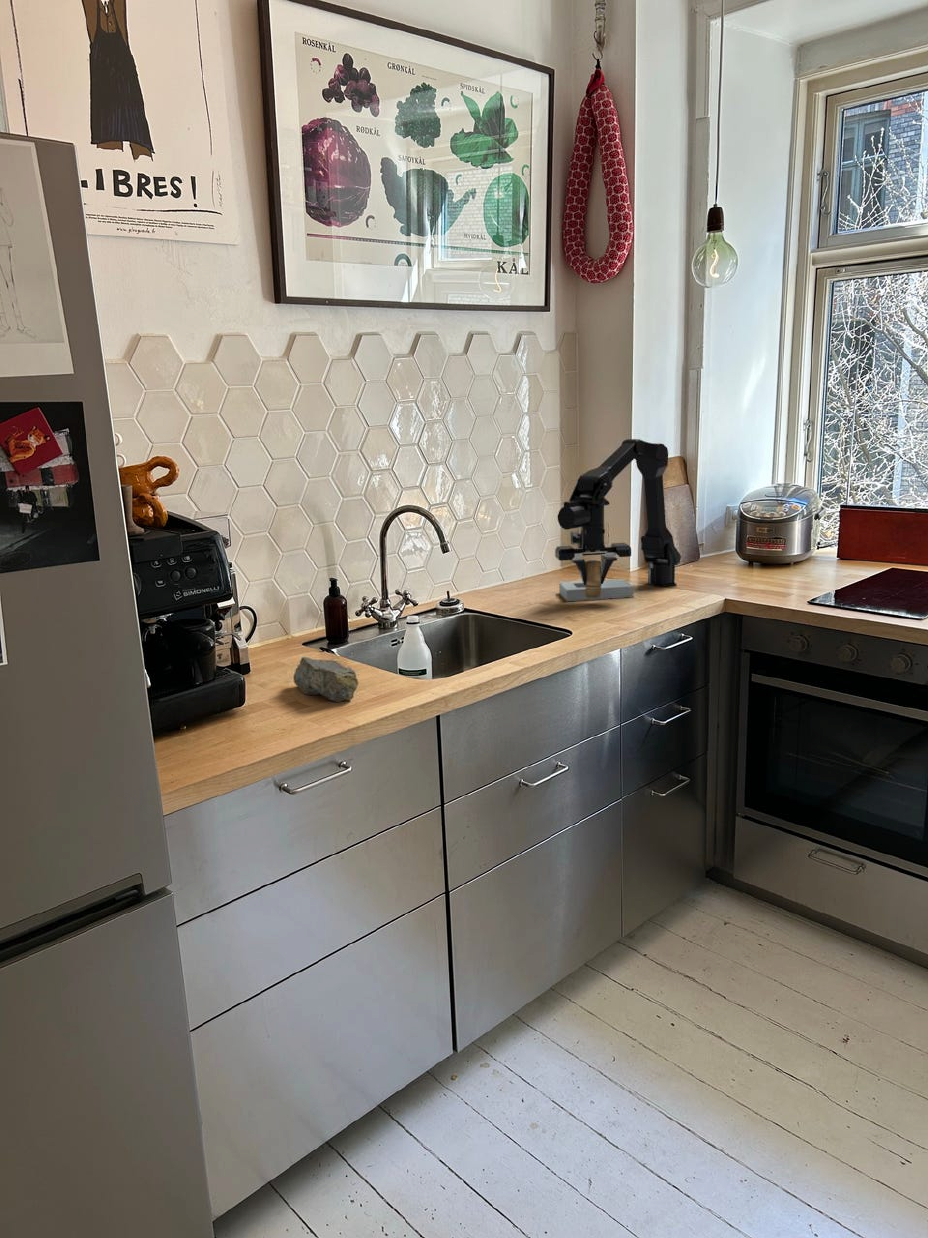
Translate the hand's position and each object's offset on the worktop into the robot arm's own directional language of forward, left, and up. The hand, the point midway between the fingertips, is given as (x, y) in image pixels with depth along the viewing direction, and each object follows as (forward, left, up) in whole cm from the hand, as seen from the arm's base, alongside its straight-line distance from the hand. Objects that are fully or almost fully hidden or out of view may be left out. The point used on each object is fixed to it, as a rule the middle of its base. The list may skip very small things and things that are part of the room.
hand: (593, 584), depth 230 cm
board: (-3, -10, -5) cm, 12 cm away
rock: (+66, +57, -6) cm, 87 cm away
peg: (0, 0, -3) cm, 3 cm away
